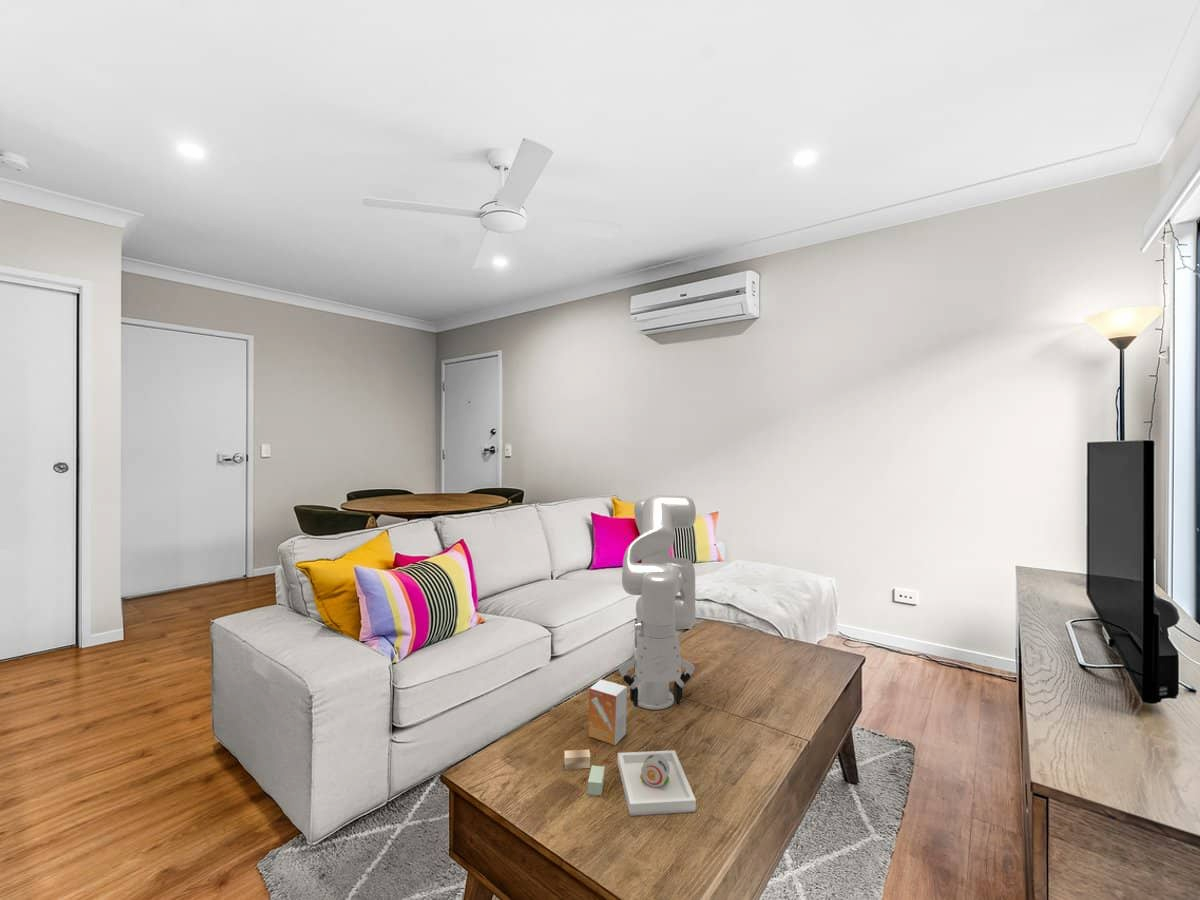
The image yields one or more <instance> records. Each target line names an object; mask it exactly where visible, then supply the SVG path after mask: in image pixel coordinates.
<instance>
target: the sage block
mask: <svg viewBox="0 0 1200 900" xmlns="http://www.w3.org/2000/svg"><path fill="white" fill-rule="evenodd" d="M605 768H606V767H605V766H602V765H590V772H589V774H588V775H589V776H588V781H587V795H588V794H590V795H589V796H598V795H600V797H601V796H602V795H603V794H602V793H603V788H604V782H605V771H606V769H605ZM601 794H602V795H601Z"/></svg>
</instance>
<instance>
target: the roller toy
mask: <svg viewBox="0 0 1200 900" xmlns="http://www.w3.org/2000/svg"><path fill="white" fill-rule="evenodd" d="M668 774H669V764H668V762H667V760H666V759H665V758H664V757H663V756H661V755H659V754H651V755H649V756H648V757H647V758H646V760H645V762H644V764H643V766H642V769H641V775H640V777H641V780H642V781H643V782H645V783H647V784H648V785H650V786H652V787H660V786H662V785H663V784H666V783H668V782H669V776H668Z"/></svg>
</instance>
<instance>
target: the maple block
mask: <svg viewBox="0 0 1200 900" xmlns="http://www.w3.org/2000/svg"><path fill="white" fill-rule="evenodd" d="M590 751H591V750H590V749H572V750H564V754H563V755H564V756H563V758H564V759H563V761H564V762H563V764H564V765H565V766H564V765H563V766H564V770H565V769H573V770H582V769H581V768H590V769H591V752H590Z"/></svg>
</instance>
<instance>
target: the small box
mask: <svg viewBox="0 0 1200 900" xmlns="http://www.w3.org/2000/svg"><path fill="white" fill-rule="evenodd" d="M627 692H628V686H626V685H622V684H619V683H617V682H613V681H608V680H605V679H601V678H600V679H599V680H598V681H597V682H596V683H594V684H593V685H592V686H591V687H589V699H588V700H589V701H588V704H589V705H588V729H587V731H588V732H587V733H588V737H590V738H593V739H595V740H599V741H602V742H605V743H607V744H610V745H613V746H616V745H617V744H618V743H619V742H620V741H621V740H622V738H624V736H626V733H627V703H628V702H627V700H628V699H627V697H628V695H627V694H628V693H627Z"/></svg>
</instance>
